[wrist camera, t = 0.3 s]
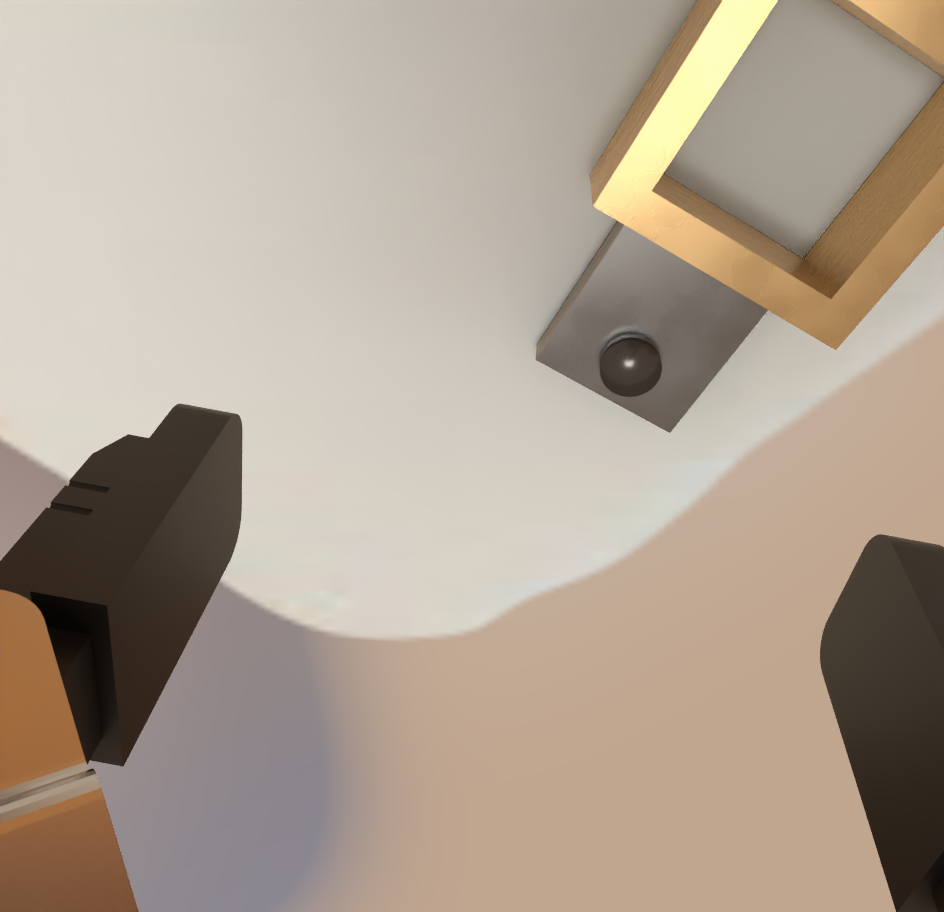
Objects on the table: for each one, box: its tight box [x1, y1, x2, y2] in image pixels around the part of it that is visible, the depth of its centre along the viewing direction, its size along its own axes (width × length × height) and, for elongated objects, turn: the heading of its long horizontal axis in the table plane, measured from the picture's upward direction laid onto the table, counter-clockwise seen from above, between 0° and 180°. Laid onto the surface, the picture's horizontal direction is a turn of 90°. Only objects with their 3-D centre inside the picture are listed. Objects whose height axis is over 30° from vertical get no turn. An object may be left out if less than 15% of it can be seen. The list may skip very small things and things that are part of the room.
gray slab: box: [536, 221, 767, 433], centre depth 38 cm, size 8×7×2 cm
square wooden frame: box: [590, 0, 944, 350], centre depth 32 cm, size 11×11×4 cm
